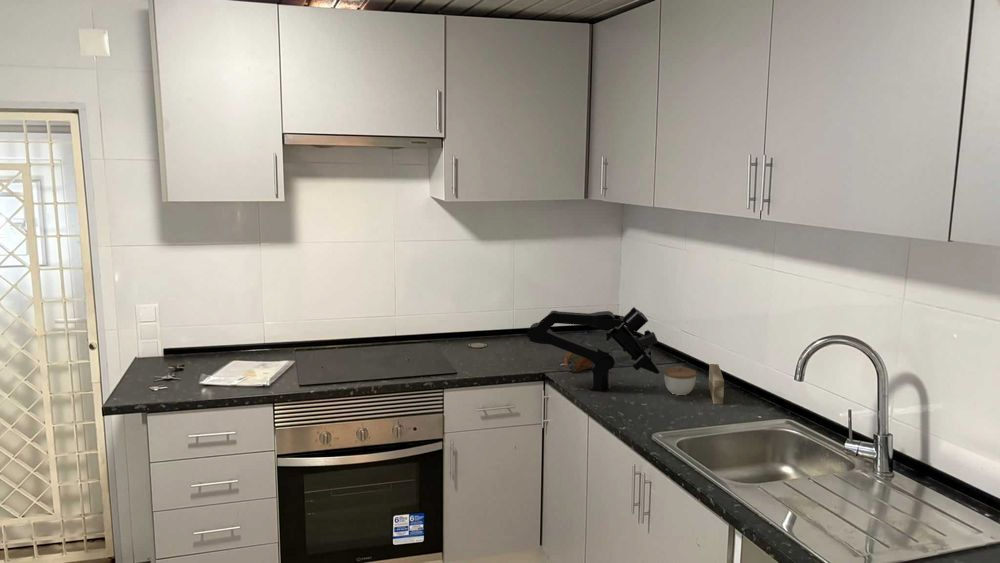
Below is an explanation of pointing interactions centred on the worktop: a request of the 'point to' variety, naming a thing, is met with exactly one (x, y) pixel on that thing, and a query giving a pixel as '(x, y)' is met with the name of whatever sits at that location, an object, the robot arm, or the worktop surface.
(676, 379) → the lidded jar
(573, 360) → the tin
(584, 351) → the robot arm
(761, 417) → the worktop surface
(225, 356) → the worktop surface
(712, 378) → the birch board
